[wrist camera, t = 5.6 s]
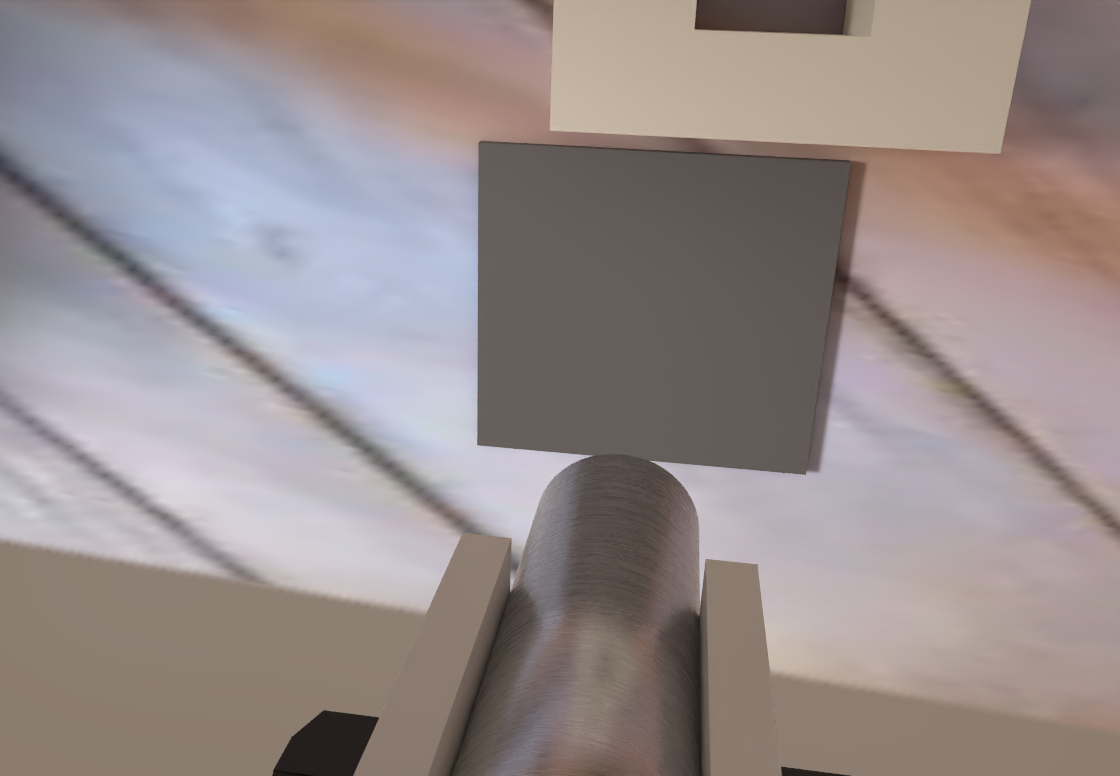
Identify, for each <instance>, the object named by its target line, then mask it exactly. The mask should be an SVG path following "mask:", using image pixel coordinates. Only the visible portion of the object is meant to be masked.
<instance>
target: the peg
mask: <svg viewBox="0 0 1120 776" xmlns="http://www.w3.org/2000/svg"><path fill="white" fill-rule="evenodd" d="M699 614H700V578H699V523H698V516H697V512H696V509H695V506H694V504H693V501H692V499H691V497H690V496H689V494H688V492H687V491H686V489H685V488H684V487H683V486H682V484H681V483H680V482H679V481H678V480H677V479H676V478H675V477H674V476H673V475H672V474H670V473H669V472H668V471H666V470H665V469H663V468H662V467H660V466H658V465H656V464H655V463H652V462H650V461H648V460H645V459H642V458H639V457H635V456H630V455H624V454H603V455H597V456H592V457H588V458H585V459H582V460H579V461H577V462H575V463H573V464H571V465H570V466H568V467H567V468H565V469H564V470H562V471H561V472H560V473H559V474H558V475H557V476H555V477H554V479H553V480H552V481H551V482H550V483H549V485H548V486H547V488H546V489H545V491H544V492H543V495H542V497H541V499H540V502H539V505H538V508H537V511H536V514H535V517H534V520H533V523H532V527H531V530H530V533H529V536H528V539H527V542H526V545H525V548H524V551H523V555H522V558H521V561H520V564H519V567H518V570H517V573H516V576H515V579H514V582H513V586H512V589H511V592H510V595H509V598H508V601H507V604H506V607H505V610H504V614H503V617H502V620H501V623H500V626H499V629H498V632H497V635H496V638H495V642H494V645H493V648H492V651H491V654H490V657H489V660H488V663H487V666H486V669H485V673H484V676H483V679H482V682H481V685H480V688H479V691H478V694H477V697H476V701H475V704H474V707H473V710H472V713H471V716H470V719H469V722H468V725H467V728H466V732H465V735H464V738H463V741H462V744H461V747H460V750H459V753H458V756H457V760H456V763H455V766H454V769H453V772H452V775H451V776H701V763H700V655H699Z"/></svg>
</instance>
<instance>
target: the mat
mask: <svg viewBox="0 0 1120 776" xmlns="http://www.w3.org/2000/svg"><path fill="white" fill-rule="evenodd" d="M850 168H851V162H850V161H846V160H827V159H808V158H789V157H771V156H752V155H733V154H714V153H696V152H677V151H658V150H639V149H621V148H602V147H583V146H564V145H546V144H527V143H508V142H489V141H480V142H479V193H478V439H477V445H481V446H492V447H503V448H514V449H526V450H537V451H548V452H559V453H570V454H581V455H593V456H597V455H603V454H624V455H630V456H635V457H639V458H642V459H645V460H648V461H660V462H671V463H682V464H693V465H704V466H715V467H727V468H738V469H749V470H760V471H771V472H782V473H794V474H805V475H806V470H807V463H808V456H809V449H810V442H811V435H812V428H813V422H814V415H815V408H816V401H817V394H818V387H819V380H820V374H821V367H822V360H823V353H824V346H825V339H826V332H827V326H828V319H829V312H830V305H831V298H832V291H833V284H834V278H835V271H836V264H837V257H838V250H839V243H840V236H841V230H842V223H843V216H844V209H845V202H846V195H847V188H848V182H849V175H850Z"/></svg>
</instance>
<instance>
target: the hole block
mask: <svg viewBox="0 0 1120 776" xmlns="http://www.w3.org/2000/svg"><path fill="white" fill-rule="evenodd" d="M1030 4H1031V0H847V4H846V12H845V19H844V26H843V34H842V35H838V34H812V33H786V32H761V31H735V30H709V29H695V17H696V5H697V0H554V11H553V43H552V76H551V108H550V131H567V132H587V133H606V134H625V135H645V136H664V137H684V138H703V139H722V140H742V141H761V142H780V143H800V144H819V145H838V146H858V147H877V148H897V149H916V150H935V151H955V152H974V153H993V154H1000V153H1001V148H1002V143H1003V138H1004V133H1005V128H1006V123H1007V118H1008V113H1009V108H1010V104H1011V99H1012V94H1013V89H1014V84H1015V79H1016V74H1017V69H1018V64H1019V59H1020V54H1021V49H1022V44H1023V39H1024V34H1025V29H1026V24H1027V19H1028V14H1029V9H1030Z"/></svg>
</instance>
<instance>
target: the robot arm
mask: <svg viewBox="0 0 1120 776" xmlns="http://www.w3.org/2000/svg"><path fill="white" fill-rule="evenodd" d="M510 572H511V538H504V537H495V536H486V535H476V534H467V533H463V534H462V536H461V538H460V540H459V543H458V545H457V547H456V549H455V552H454V554H453V556H452V558H451V560H450V563H449V565H448V567H447V569H446V571H445V574H444V576H443V578H442V580H441V583H440V585H439V587H438V589H437V591H436V594H435V596H434V598H433V600H432V602H431V605H430V607H429V609H428V611H427V614H426V616H425V618H424V620H423V622H422V625H421V627H420V629H419V631H418V634H417V636H416V638H415V640H414V642H413V645H412V647H411V649H410V651H409V653H408V656H407V658H406V660H405V662H404V665H403V667H402V669H401V671H400V673H399V676H398V678H397V680H396V682H395V684H394V687H393V689H392V691H391V693H390V695H389V698H388V700H387V702H386V704H385V707H384V709H383V711H382V713H381V716H380V718H378V717H371V716H363V715H355V714H348V713H340V712H331V711H323V712H321V713H320V714H319V715H318V716H317V717H315V718H314V719H313V720H312V721H310V722H309V723H308V724H307V725H306V726H304V727H303V728H302V729H301V730H300V731H298V732H297V733H296V734H295V735H294V736H292V738H291V740H290V741H289V743H288V745H287V747H286V748H285V750H284V752H283V754H282V756H281V757H280V759H279V761H278V763H277V765H276V766H275V768H274V770H273V775H272V776H451V775H452V772H453V769H454V766H455V763H456V760H457V756H458V753H459V750H460V747H461V744H462V741H463V738H464V735H465V732H466V728H467V725H468V722H469V719H470V716H471V713H472V710H473V707H474V704H475V701H476V697H477V694H478V691H479V688H480V685H481V682H482V679H483V676H484V673H485V669H486V666H487V663H488V660H489V657H490V654H491V651H492V648H493V645H494V642H495V638H496V635H497V632H498V629H499V626H500V623H501V620H502V617H503V614H504V610H505V607H506V604H507V601H508V598H509V595H510ZM699 655H700V763H701V776H849V775H840V774H833V773H825V772H818V771H809V770H802V769H795V768H787V767H781V764H780V755H779V747H778V737H777V729H776V720H775V712H774V703H773V696H772V686H771V677H770V669H769V660H768V652H767V643H766V635H765V626H764V618H763V609H762V600H761V592H760V583H759V575H758V566H757V564H748V563H738V562H729V561H720V560H710V559H706V563H705V571H704V580H703V589H702V597H701V606H700V614H699Z"/></svg>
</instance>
